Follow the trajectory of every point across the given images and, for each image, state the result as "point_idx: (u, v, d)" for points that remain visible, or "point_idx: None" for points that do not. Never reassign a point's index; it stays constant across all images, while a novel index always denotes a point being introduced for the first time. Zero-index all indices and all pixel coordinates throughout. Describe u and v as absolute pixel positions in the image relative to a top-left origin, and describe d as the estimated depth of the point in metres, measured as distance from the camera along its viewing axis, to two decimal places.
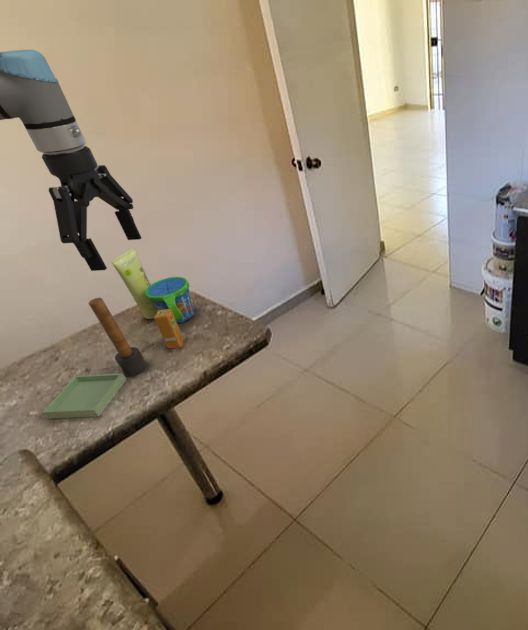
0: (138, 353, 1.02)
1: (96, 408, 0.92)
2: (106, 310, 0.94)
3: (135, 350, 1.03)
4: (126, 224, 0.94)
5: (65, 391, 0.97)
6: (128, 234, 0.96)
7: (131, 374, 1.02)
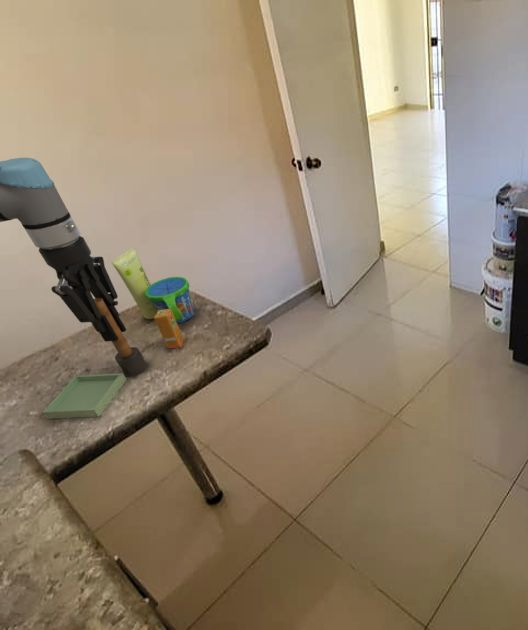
0: (138, 353, 1.02)
1: (96, 408, 0.92)
2: (106, 310, 0.94)
3: (135, 350, 1.03)
4: None
5: (65, 391, 0.97)
6: None
7: (131, 374, 1.02)
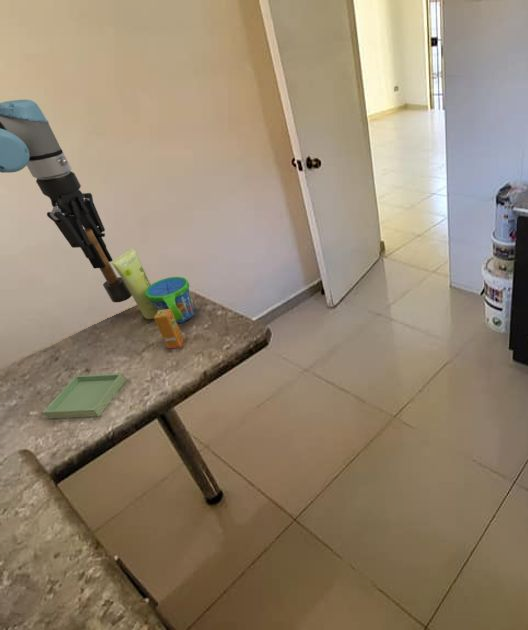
0: (123, 281, 1.17)
1: (96, 408, 0.92)
2: (95, 239, 1.09)
3: (121, 279, 1.18)
4: None
5: (65, 391, 0.97)
6: None
7: (117, 300, 1.17)
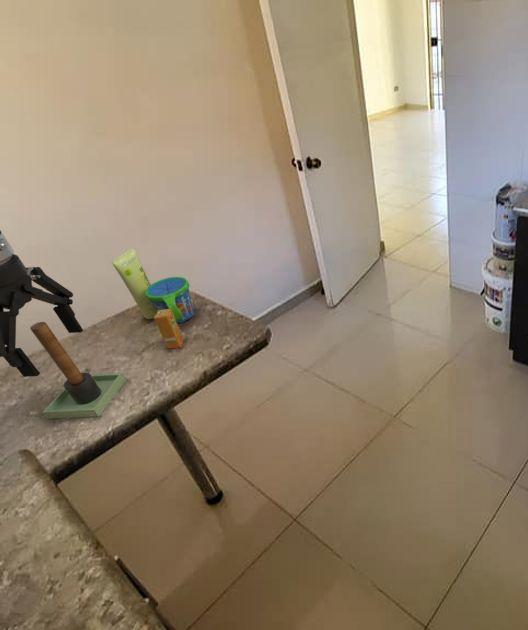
0: (90, 379, 0.95)
1: (96, 408, 0.92)
2: (51, 335, 0.87)
3: (86, 376, 0.95)
4: (65, 319, 0.92)
5: (65, 391, 0.97)
6: (69, 328, 0.94)
7: (82, 402, 0.95)
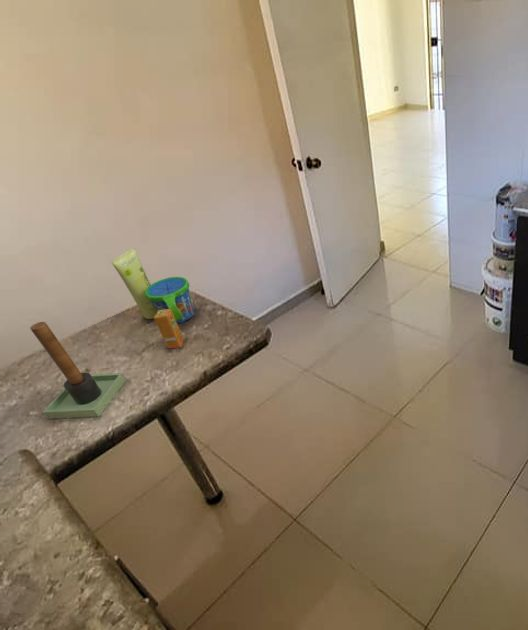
0: (90, 379, 0.95)
1: (96, 408, 0.92)
2: (51, 335, 0.87)
3: (86, 376, 0.95)
4: None
5: (65, 391, 0.97)
6: None
7: (82, 402, 0.95)
